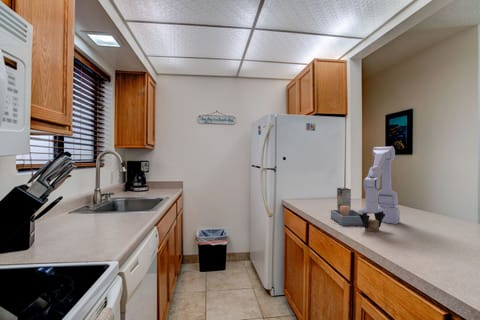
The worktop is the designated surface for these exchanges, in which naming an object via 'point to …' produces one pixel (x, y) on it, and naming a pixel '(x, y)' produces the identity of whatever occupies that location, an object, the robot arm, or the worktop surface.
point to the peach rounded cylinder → (344, 210)
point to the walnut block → (373, 225)
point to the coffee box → (343, 197)
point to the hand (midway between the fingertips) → (371, 227)
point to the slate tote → (347, 218)
